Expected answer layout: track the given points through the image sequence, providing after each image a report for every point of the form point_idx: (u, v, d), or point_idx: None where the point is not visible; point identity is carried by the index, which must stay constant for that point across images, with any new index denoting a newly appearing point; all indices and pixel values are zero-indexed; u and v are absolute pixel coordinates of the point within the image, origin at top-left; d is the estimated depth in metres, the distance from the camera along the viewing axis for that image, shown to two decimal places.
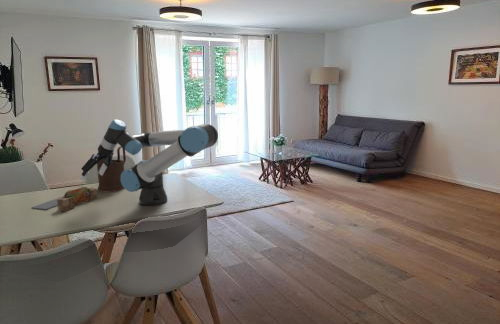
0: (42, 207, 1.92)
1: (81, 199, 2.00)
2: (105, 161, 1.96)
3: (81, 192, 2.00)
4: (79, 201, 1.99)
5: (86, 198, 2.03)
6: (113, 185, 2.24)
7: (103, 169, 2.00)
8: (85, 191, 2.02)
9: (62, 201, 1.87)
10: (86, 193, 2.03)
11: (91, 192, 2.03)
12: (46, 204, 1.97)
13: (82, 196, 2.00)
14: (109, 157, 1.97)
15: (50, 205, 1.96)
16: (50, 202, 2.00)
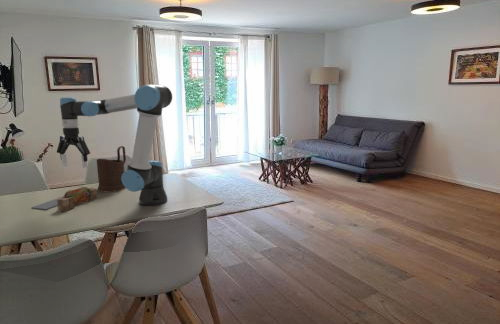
0: (42, 207, 1.92)
1: (81, 199, 2.00)
2: (67, 147, 1.94)
3: (81, 192, 2.00)
4: (79, 201, 1.99)
5: (86, 198, 2.03)
6: (113, 185, 2.24)
7: (65, 158, 1.96)
8: (85, 191, 2.02)
9: (62, 201, 1.87)
10: (86, 193, 2.03)
11: (91, 192, 2.03)
12: (46, 204, 1.97)
13: (82, 196, 2.00)
14: (63, 143, 1.94)
15: (50, 205, 1.96)
16: (50, 202, 2.00)
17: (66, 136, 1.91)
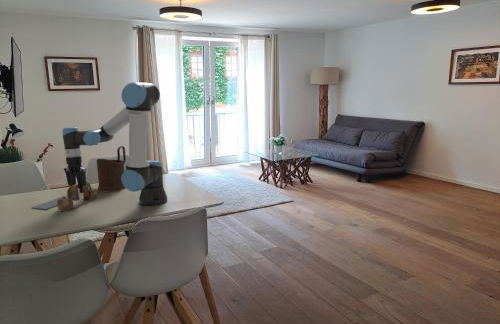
0: (42, 207, 1.92)
1: None
2: (74, 177, 1.97)
3: (83, 187, 1.99)
4: None
5: (87, 193, 2.02)
6: (113, 185, 2.24)
7: None
8: (86, 186, 2.01)
9: (62, 201, 1.87)
10: (87, 188, 2.02)
11: (91, 192, 2.03)
12: (46, 204, 1.97)
13: None
14: (69, 174, 1.97)
15: (50, 205, 1.96)
16: (50, 202, 2.00)
17: (68, 164, 1.94)
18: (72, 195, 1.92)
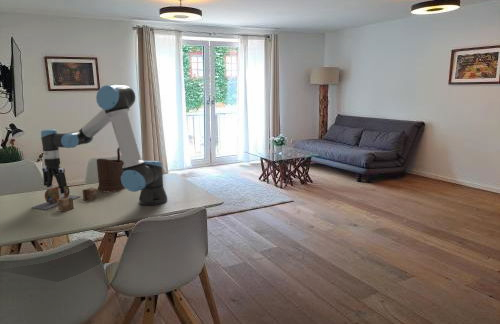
0: (42, 207, 1.92)
1: None
2: (51, 178, 2.01)
3: None
4: None
5: (65, 195, 2.06)
6: (113, 185, 2.24)
7: None
8: (64, 189, 2.06)
9: (62, 201, 1.87)
10: (65, 191, 2.06)
11: (91, 192, 2.03)
12: (46, 204, 1.97)
13: None
14: (47, 175, 2.01)
15: (50, 205, 1.96)
16: None
17: (47, 166, 1.98)
18: (50, 198, 1.97)
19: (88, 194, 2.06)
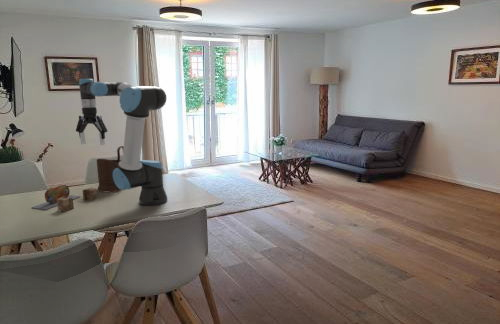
0: (42, 207, 1.92)
1: None
2: (85, 126, 2.08)
3: (61, 190, 2.03)
4: None
5: (65, 195, 2.06)
6: (113, 185, 2.24)
7: (83, 137, 2.09)
8: (64, 189, 2.06)
9: (62, 201, 1.87)
10: (65, 191, 2.06)
11: (91, 192, 2.03)
12: (46, 204, 1.97)
13: (61, 193, 2.04)
14: (81, 122, 2.08)
15: (50, 205, 1.96)
16: None
17: (85, 115, 2.04)
18: (50, 198, 1.97)
19: (88, 194, 2.06)
